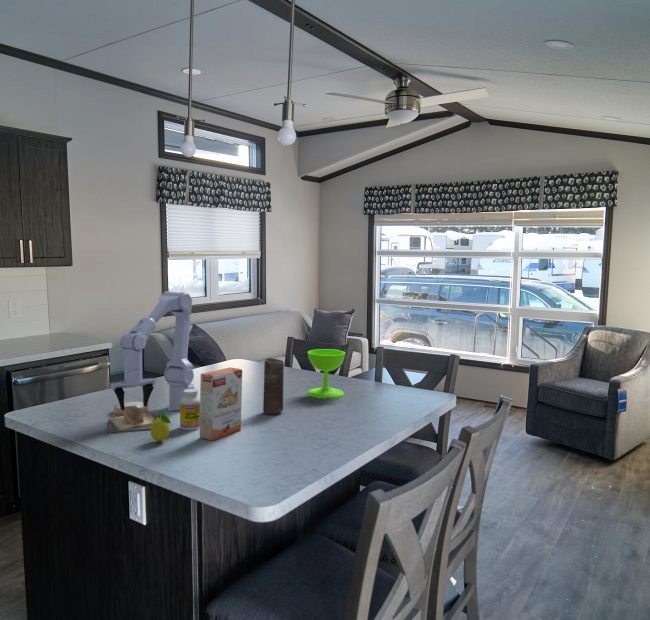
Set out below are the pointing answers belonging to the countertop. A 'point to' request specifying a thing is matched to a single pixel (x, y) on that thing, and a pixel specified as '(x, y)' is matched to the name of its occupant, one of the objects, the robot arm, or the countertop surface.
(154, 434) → the lemon
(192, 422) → the supplement bottle
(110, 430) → the charcoal mat
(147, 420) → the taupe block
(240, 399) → the cracker box
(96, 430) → the countertop surface
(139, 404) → the terracotta dish
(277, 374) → the candle
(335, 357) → the wineglass
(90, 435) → the countertop surface
